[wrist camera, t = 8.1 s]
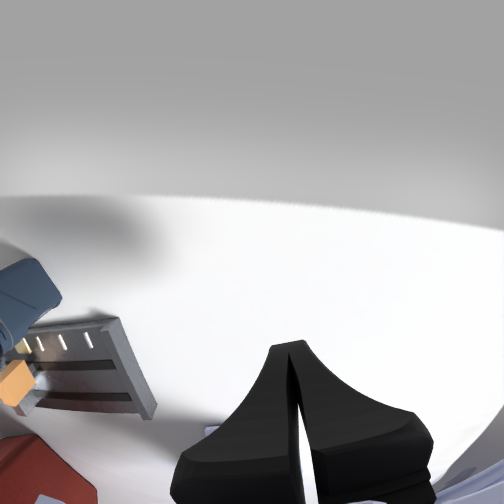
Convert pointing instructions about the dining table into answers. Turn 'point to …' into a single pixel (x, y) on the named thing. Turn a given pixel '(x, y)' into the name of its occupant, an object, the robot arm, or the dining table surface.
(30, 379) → the orange fader
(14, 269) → the vaping device
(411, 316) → the dining table surface
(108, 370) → the mixer console
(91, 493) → the plant pot
